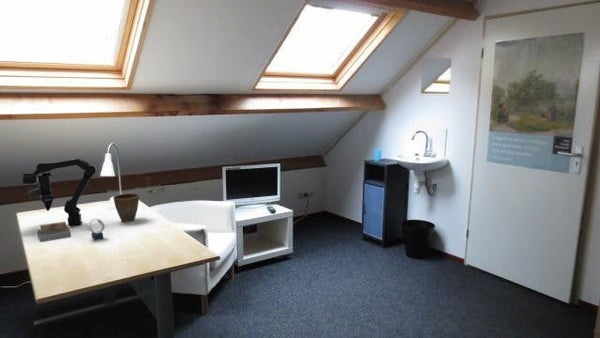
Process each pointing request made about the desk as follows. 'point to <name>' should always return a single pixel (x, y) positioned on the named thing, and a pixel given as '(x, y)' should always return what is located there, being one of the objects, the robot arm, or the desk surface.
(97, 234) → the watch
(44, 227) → the panel
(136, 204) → the plant pot
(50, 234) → the rack
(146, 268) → the desk surface
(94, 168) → the robot arm
